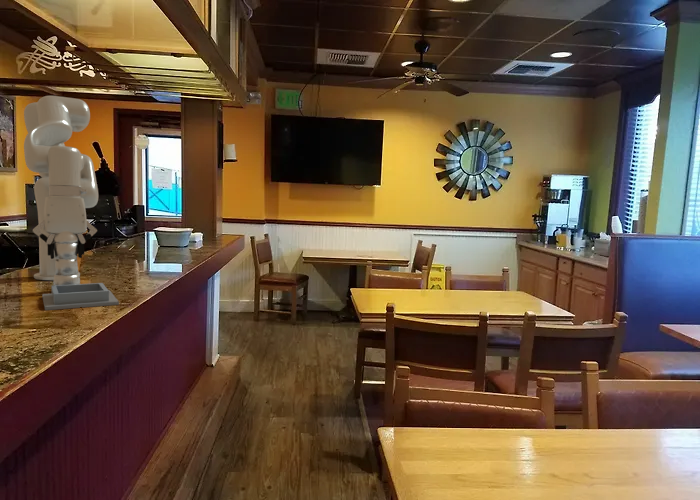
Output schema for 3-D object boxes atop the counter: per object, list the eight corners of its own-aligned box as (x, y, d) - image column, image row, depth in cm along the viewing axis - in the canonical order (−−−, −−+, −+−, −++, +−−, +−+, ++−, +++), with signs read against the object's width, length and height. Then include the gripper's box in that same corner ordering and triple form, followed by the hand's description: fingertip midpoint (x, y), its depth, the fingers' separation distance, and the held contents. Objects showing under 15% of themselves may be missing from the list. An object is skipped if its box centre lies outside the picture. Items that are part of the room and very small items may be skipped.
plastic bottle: (85, 289, 143) (84, 219, 141) (69, 294, 137) (68, 220, 134) (64, 288, 144) (63, 218, 142) (47, 292, 137) (46, 219, 135)
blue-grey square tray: (42, 297, 132) (42, 284, 132) (109, 292, 141) (109, 281, 140) (45, 310, 119) (44, 296, 118) (118, 304, 127) (118, 291, 127)
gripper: (98, 193, 145) (99, 255, 147) (27, 190, 136) (29, 257, 138) (101, 193, 139) (102, 258, 141) (27, 191, 129) (29, 260, 131)
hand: (66, 257), depth 139 cm, fingers closed on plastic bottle, 6 cm apart
